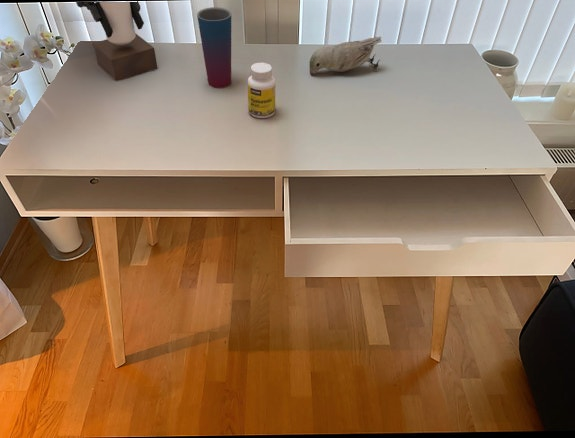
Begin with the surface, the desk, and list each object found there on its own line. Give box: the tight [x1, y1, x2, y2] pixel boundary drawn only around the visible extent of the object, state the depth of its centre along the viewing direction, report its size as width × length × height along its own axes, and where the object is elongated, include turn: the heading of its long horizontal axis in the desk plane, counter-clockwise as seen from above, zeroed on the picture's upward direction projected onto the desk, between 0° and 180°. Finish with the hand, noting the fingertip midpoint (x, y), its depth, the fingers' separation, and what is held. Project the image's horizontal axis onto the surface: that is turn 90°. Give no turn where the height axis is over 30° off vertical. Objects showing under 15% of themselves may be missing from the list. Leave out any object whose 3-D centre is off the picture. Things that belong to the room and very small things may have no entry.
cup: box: [196, 6, 232, 89], centre depth 107 cm, size 7×7×15 cm
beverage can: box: [99, 2, 137, 45], centre depth 108 cm, size 6×6×12 cm
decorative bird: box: [309, 36, 382, 75], centre depth 114 cm, size 5×16×7 cm, turn 104°
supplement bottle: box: [247, 62, 276, 119], centre depth 100 cm, size 5×5×10 cm
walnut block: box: [92, 32, 158, 82], centre depth 115 cm, size 10×10×5 cm
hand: (125, 30), depth 108 cm, fingers closed on beverage can, 6 cm apart
